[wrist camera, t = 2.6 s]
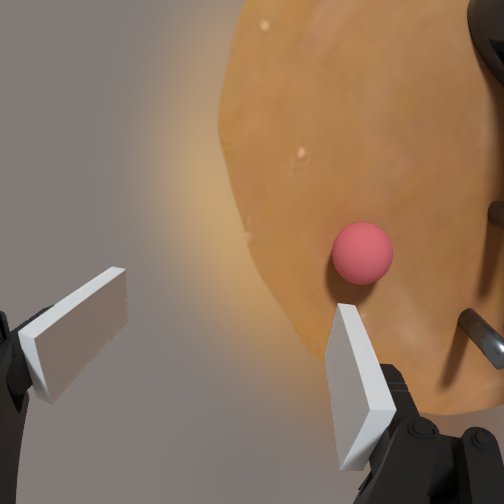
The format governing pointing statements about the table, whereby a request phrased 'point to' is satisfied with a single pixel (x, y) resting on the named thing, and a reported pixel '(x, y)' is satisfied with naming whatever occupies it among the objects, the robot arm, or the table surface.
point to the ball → (362, 253)
